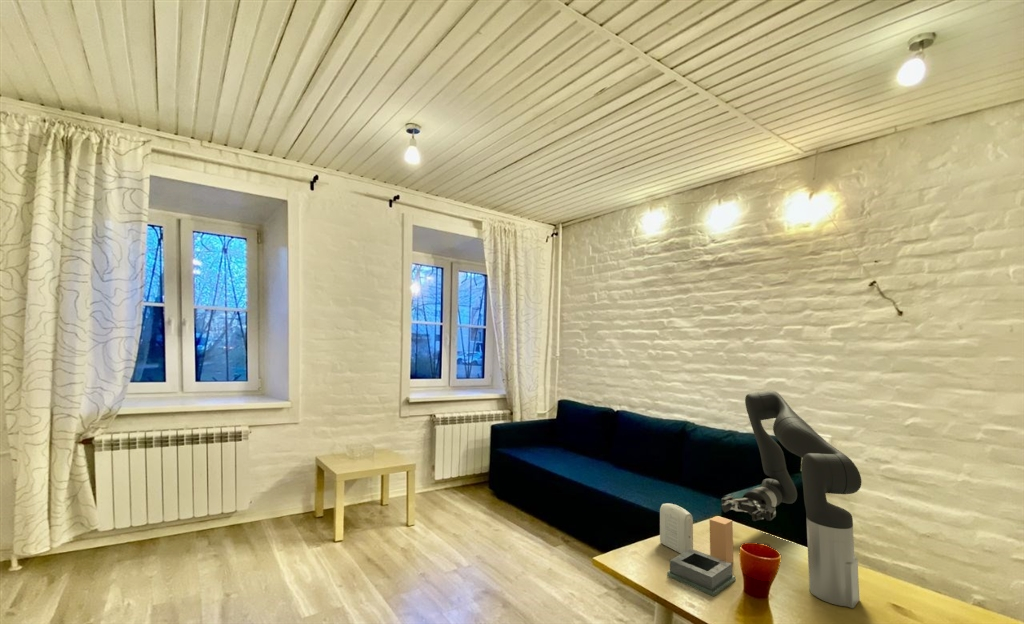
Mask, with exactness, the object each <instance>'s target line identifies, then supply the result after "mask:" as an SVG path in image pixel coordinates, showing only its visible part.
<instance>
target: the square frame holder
mask: <svg viewBox="0 0 1024 624" xmlns="http://www.w3.org/2000/svg"><path fill="white" fill-rule="evenodd" d="M666 575H667V577H668V576H669V577H668V578H670V577H671V579H673V580H674V581H677V582H680V583H682V584H683V585H687V586H689V587H691V588H693V589H696V590H698V591H700V592H702V593H705V594H707V595H709V596H712V597H715V596H716V595H717V594H719V593H720V592H722V591H723V590H724V589H725V588H727V587H728V586H730V585H731V584H732V583H733V582H735V581H736V575H734V574H733V562H732V563H729V562H726V561H724V560H721V559H718V558H715V557H713V556H710V554H707V553H704V552H702V551H700V550H699V551H698V550H696V549H694V548H693V549H689V550H687V551H686V552H684V553H682V554H681V553H679V554H678V555H676V556H675V557H673V558H671V559H670V560H669V571H667V573H666Z"/></svg>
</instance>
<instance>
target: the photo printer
mask: <svg viewBox="0 0 1024 624" xmlns="http://www.w3.org/2000/svg"><path fill="white" fill-rule="evenodd" d="M693 520H694V517H693V515H692V514H691V513H690V512H689V511H688V510H686V509H685V508H684V507H681V506H679V505H677V504H675V503H674V504H673V503H669V502H667V503H662V504H661V506H660V508H659V542H660V543H661V544H662V545H664V546H665V547H668V548H670V549H671V550H674V551H675V552H676V553H679V554H682V553H684V552H686V551H687V550H689V549H694V521H693Z"/></svg>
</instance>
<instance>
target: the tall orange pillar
mask: <svg viewBox="0 0 1024 624" xmlns="http://www.w3.org/2000/svg"><path fill="white" fill-rule="evenodd" d="M733 530H734V529H733V520H732V519H728V518H726V517H721V516H718V515H716V516H713V517H712V518H710V519H709V555H710V556H713V557H715V558H718V559H721V560H724V561H726V562H729V563H732V564H733V562H734V540H733V539H734V538H733V537H734V536H733V535H734V534H733V533H734V531H733Z"/></svg>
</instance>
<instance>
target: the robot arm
mask: <svg viewBox="0 0 1024 624" xmlns="http://www.w3.org/2000/svg"><path fill="white" fill-rule="evenodd" d="M744 405H745V409H746V412H747V416H748V419H749V423H750V424H751V425H750V426H751V429H752V432H753V434H754V438H755V440H756V443H757V447H758V450H759V453H760V458H761V464H762V469H763V472H764V474H765V476H768V477H769V478H765V479H763V480H762V482H761V485H760V486H758V487H755V488H753V489H751V490H748V491H747V492H745V493H744V494H743V495H742V497H741V498H734V496H733V495H727V496H725V497H722V498H721V510H722V512H723V513H727V512H729V511H731V510H733V511H735V512H744V513H748V514H749V515H751V521H753V522H756V521H760V520H764V519H766V521H772V520H773V519H774V518H776V517H777V511H776V510H777V509H776V507H777V506H779V505H780V504H781V503H785V504H787V505H789V504H793V503H795V502H796V501H797V498H798V491H797V487H796V486H795V485H796V484H795V483H794V482H793V479H792V478H791V476H790V474H789V472H788V469H787V464H786V458H785V455H784V454H785V453H784V451H783V450H782V448H781V446H780V445H779V444H778V443H777V442H776V440H775V439H773V438H772V437H771V435H770V434H769V433H768V432H767V431H766V430H765V429H764V427H763V423H762V421H764V420H765V421H766V420H773V419H775V420H774V422H773V425H772V432H773V435H774V437H775V438H776V439H777V440H778V441H779V443H780V444H781V445H782V446H783V447H784V448H785V449H786V450H787V451H788V452H789V453H791V454H794V455H795V456H798V457H800V458H801V465H800V466H801V469H800V472H801V480H802V489H803V501H804V507H805V513H806V514H805V515H806V539H807V541H806V542H807V560H808V561H807V562H808V585H809V586H808V587H809V592H810V593H811V594H812V595H813V596H815V598H818V599H819V600H821V601H824V602H825V603H829V604H832V605H835V606H841V607H846V608H850V609H854V608H855V607H856V605H857V604H858V603H859V601H860V600H861V599H860V598H861V597H860V584H859V582H860V581H859V564H858V562H859V561H858V557H856V555H855V541H854V540H855V539H854V538H855V537H854V522H853V521H854V520H853V516H852V514H851V512H849V510H847V509H844V508H843V507H840V506H837V505H835V504H832V503H830V502H829V501H828V500H827V494H830V495H831V494H832V495H833V494H834V495H852V494H855V493H857V492H859V490H860V489H861V486H862V477H861V473H860V471H859V468H858V467H857V466H856V464H855V463H854V462H853V461H852V459H851V458H850V457H848V455H846V454H844V453H843V452H842V451H840V450H838V449H837V448H836V447H835V446H833V445H832V444H830V443H829V442H828V441H826V440H825V439H824V438H823V437H822V436H821V435H819V433H817V432H816V430H814V429H813V428H812V426H811V425H809V424H808V423H807V422H806V421H805V420H804V419H803V418H802V417H800V416H799V415H798V414H797V413H796V412H795V411H794V410H793V409H792V408H791V406H790V405H789V404H788V403H787V402H786V400H785V399H784V398H783V396H782V395H781V394H780V393H779V392H777V391H775V390H763V391H758V392H757V391H756V392H751V393H748V394H746V395H745V398H744Z"/></svg>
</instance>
